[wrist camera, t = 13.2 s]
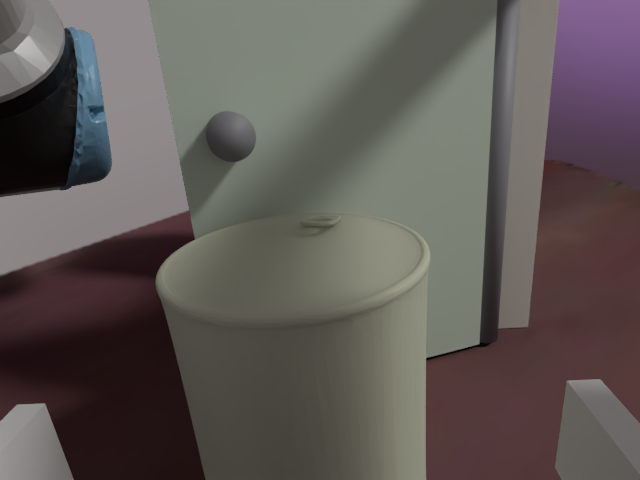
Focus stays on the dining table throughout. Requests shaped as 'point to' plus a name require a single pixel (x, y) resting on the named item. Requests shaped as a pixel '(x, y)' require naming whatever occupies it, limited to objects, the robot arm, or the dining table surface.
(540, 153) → the door frame
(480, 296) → the door
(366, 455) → the can
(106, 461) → the dining table surface
